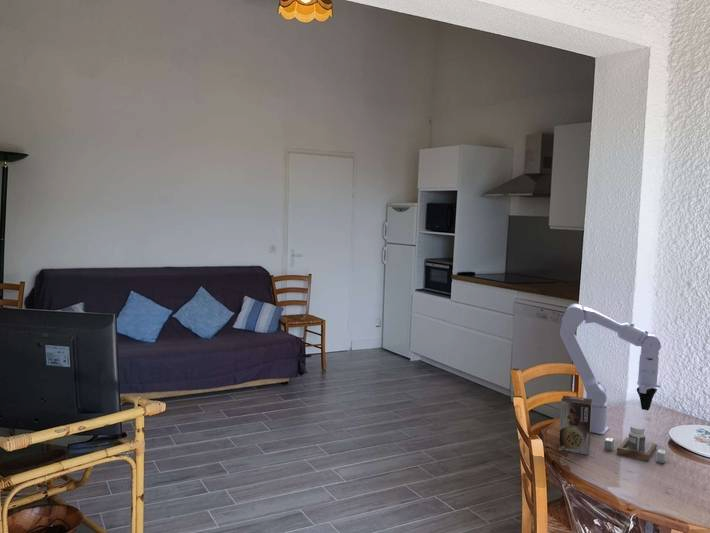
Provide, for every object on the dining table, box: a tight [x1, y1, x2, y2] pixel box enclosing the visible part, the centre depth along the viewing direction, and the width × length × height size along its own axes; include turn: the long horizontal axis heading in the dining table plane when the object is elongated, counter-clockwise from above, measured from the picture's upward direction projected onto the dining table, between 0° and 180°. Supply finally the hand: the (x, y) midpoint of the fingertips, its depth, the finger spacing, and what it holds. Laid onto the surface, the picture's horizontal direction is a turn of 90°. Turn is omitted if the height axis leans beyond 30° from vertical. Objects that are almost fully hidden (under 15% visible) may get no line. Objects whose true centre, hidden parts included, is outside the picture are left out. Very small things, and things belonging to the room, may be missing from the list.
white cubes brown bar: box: [603, 436, 667, 464], centre depth 189 cm, size 17×13×3 cm
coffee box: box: [558, 395, 592, 456], centre depth 189 cm, size 9×6×16 cm
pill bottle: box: [627, 424, 646, 453], centre depth 188 cm, size 5×5×8 cm
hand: (645, 409), depth 202 cm, fingers closed
